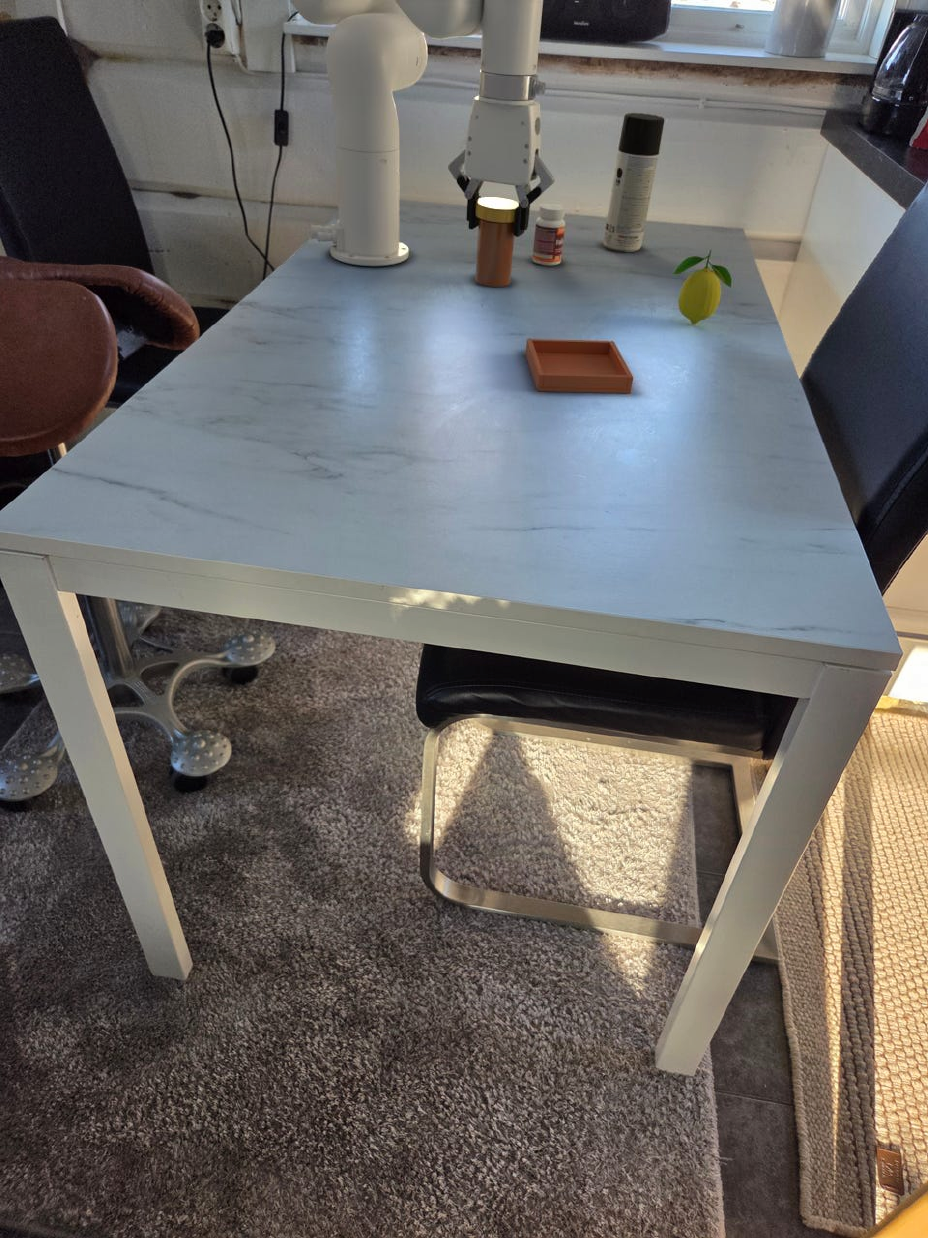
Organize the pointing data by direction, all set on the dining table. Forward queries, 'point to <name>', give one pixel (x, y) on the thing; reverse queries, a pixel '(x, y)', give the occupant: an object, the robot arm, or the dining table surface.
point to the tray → (578, 366)
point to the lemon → (701, 289)
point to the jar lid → (496, 209)
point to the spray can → (633, 181)
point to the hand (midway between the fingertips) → (496, 229)
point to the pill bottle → (549, 235)
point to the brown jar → (494, 253)
